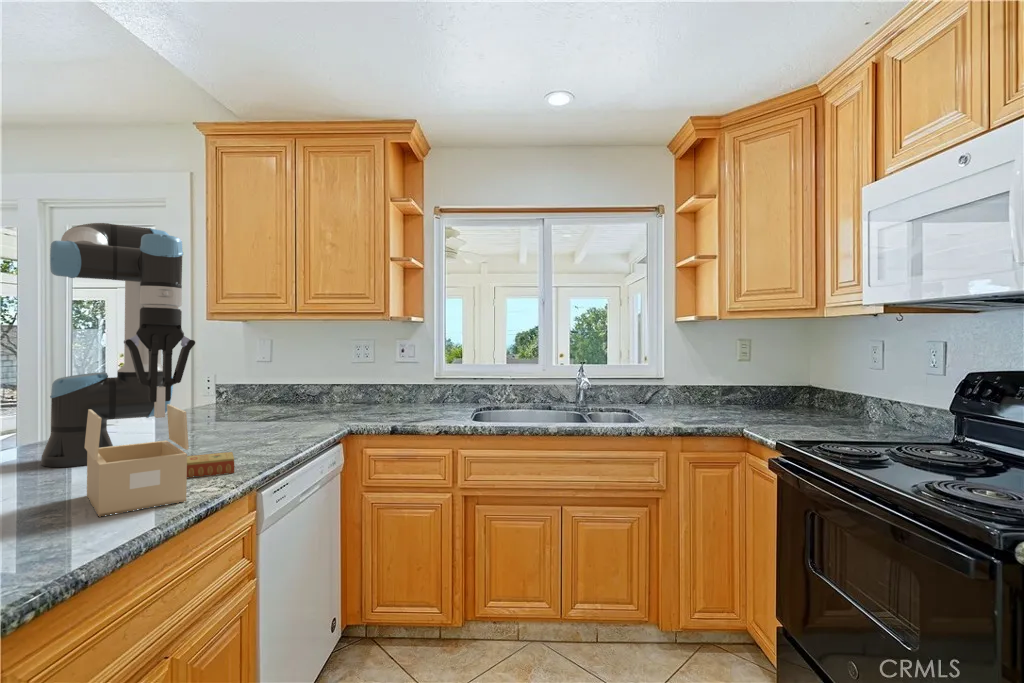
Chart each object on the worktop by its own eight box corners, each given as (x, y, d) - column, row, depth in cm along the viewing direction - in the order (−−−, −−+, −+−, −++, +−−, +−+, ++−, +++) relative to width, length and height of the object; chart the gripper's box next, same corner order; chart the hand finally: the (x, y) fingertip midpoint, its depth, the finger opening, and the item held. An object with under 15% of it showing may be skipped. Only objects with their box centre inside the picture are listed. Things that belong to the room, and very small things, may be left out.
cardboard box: (86, 495, 112) (87, 448, 112) (166, 483, 122) (166, 440, 122) (98, 517, 99) (99, 464, 99) (186, 501, 109) (187, 454, 109)
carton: (234, 474, 132) (234, 457, 132) (157, 482, 124) (158, 464, 124) (232, 466, 139) (232, 450, 139) (160, 474, 131) (160, 457, 131)
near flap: (87, 447, 111) (84, 447, 110) (91, 409, 111) (88, 409, 110) (97, 460, 100) (94, 460, 100) (101, 418, 100) (98, 418, 100)
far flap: (166, 404, 120) (169, 404, 121) (169, 438, 121) (171, 438, 121) (183, 412, 110) (186, 411, 110) (186, 449, 110) (188, 449, 111)
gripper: (126, 305, 106) (125, 422, 106) (200, 308, 115) (198, 416, 115) (120, 306, 111) (119, 417, 111) (191, 309, 120) (189, 412, 120)
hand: (159, 416), depth 113 cm, fingers closed
